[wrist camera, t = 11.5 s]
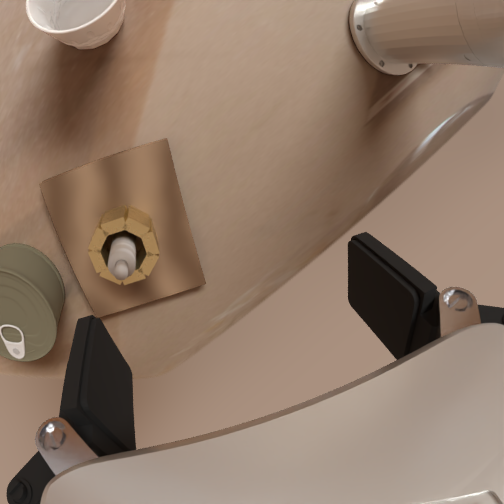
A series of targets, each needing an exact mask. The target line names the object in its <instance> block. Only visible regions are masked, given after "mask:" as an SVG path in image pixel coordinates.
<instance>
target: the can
mask: <svg viewBox="0 0 504 504" xmlns="http://www.w3.org/2000/svg"><path fill="white" fill-rule="evenodd" d="M64 299H65V289H64V284H63V281H62V278H61V275H60V273H59V271H58V270H57V268H56V267H55V265H54V264H53V263H52V261H51V260H50V259H49V258H48V257H47V256H46V255H44V254H43V253H42V252H40V251H39V250H37V249H35V248H33V247H31V246H28V245H25V244H19V243H13V244H7V245H4V246H2V247H0V355H1V356H3V357H5V358H8V359H11V360H15V361H23V362H27V361H34V360H37V359H40V358H42V357H44V356H45V355H46V354H48V353H49V351H50V350H51V349H52V347H53V345H54V343H55V340H56V336H57V326H58V322H59V318H60V315H61V311H62V308H63V304H64Z"/></svg>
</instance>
